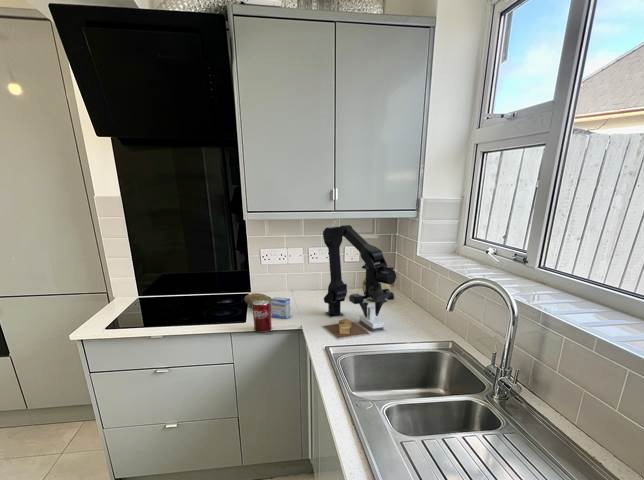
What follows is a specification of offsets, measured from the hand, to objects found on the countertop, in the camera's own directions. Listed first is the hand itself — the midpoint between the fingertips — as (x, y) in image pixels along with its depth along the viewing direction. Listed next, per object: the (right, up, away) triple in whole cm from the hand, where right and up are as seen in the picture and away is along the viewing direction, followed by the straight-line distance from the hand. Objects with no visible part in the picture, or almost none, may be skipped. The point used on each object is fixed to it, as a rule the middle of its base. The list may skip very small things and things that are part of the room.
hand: (371, 316), depth 173 cm
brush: (0, -4, +2) cm, 4 cm away
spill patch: (-11, -6, -2) cm, 13 cm away
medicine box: (-41, +1, +15) cm, 43 cm away
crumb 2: (-12, -7, -6) cm, 15 cm away
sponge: (-53, +7, +28) cm, 61 cm away
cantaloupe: (+6, +12, +41) cm, 43 cm away
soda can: (-46, -6, -2) cm, 46 cm away
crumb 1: (-11, -4, 0) cm, 12 cm away
